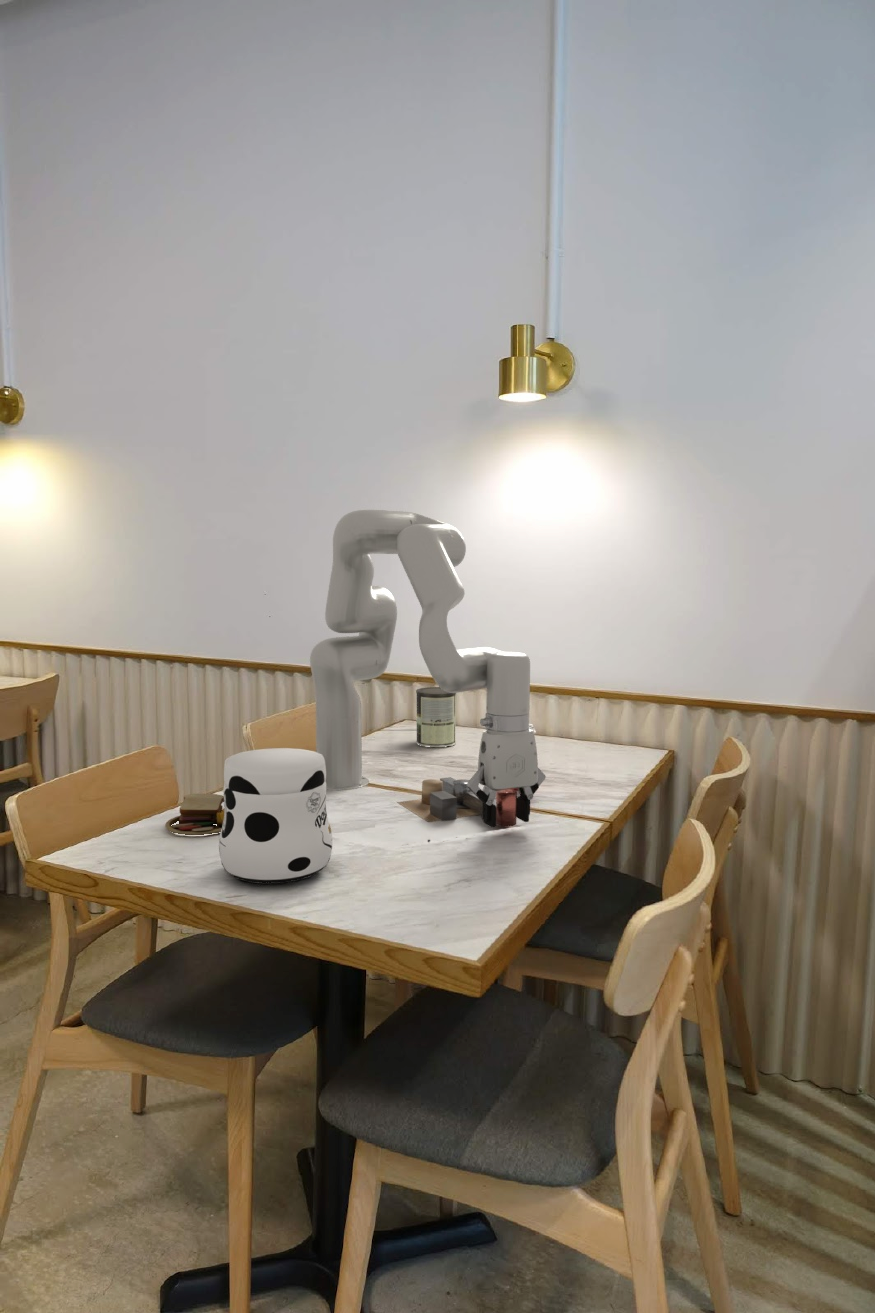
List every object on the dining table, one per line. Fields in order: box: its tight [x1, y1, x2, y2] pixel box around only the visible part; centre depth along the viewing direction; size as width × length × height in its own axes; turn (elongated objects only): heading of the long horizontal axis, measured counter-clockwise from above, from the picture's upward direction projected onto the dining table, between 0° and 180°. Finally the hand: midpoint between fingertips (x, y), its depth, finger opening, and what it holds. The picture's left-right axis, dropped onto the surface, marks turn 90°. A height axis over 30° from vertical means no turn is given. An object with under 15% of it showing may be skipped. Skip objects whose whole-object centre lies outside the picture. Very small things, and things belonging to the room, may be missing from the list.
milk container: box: [218, 747, 333, 884], centre depth 139 cm, size 17×17×18 cm
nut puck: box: [421, 778, 443, 805], centre depth 174 cm, size 4×4×4 cm
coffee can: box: [415, 686, 457, 748], centre depth 231 cm, size 10×10×14 cm
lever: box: [439, 776, 518, 828], centre depth 168 cm, size 26×4×6 cm, turn 26°
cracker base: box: [396, 791, 482, 823], centre depth 171 cm, size 16×14×5 cm
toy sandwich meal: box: [164, 793, 224, 835], centre depth 162 cm, size 12×14×5 cm
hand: (506, 821), depth 159 cm, fingers open, 6 cm apart
